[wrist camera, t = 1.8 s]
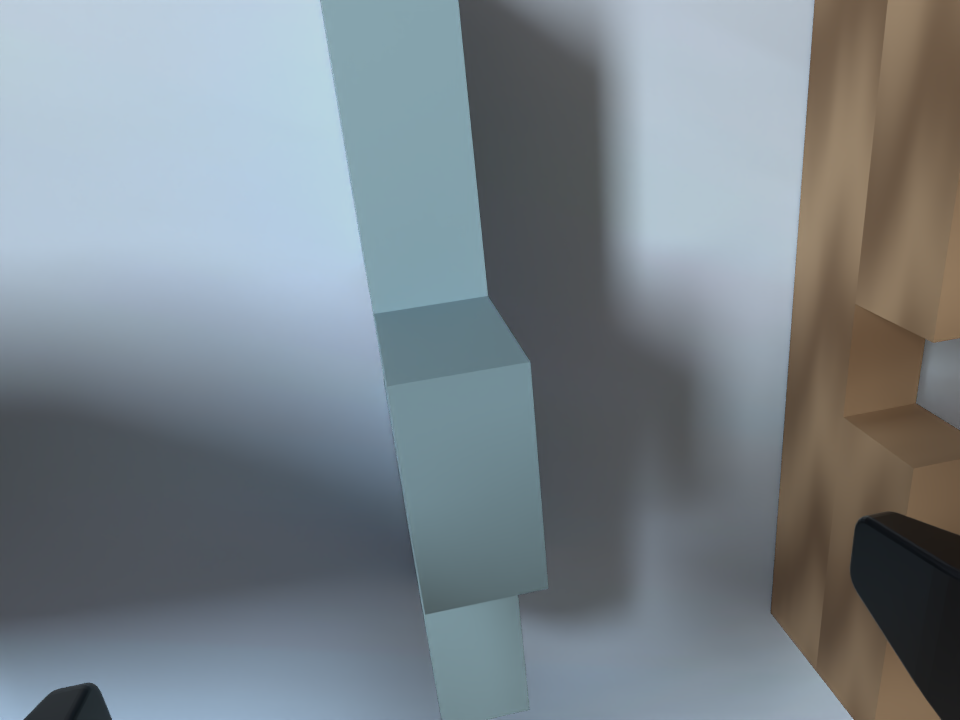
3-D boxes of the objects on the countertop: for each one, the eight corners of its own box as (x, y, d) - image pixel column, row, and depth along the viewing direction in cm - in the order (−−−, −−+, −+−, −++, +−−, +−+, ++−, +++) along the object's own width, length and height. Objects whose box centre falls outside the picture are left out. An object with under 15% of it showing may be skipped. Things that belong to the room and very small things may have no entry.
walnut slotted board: (827, 600, 25) (939, 724, 20) (770, 612, 25) (871, 742, 20) (904, -108, 17) (1119, -161, 12) (822, -100, 17) (1009, -152, 12)
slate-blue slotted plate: (486, 570, 22) (567, 834, 15) (418, 585, 22) (466, 860, 14) (411, -60, 15) (490, -148, 8) (312, -51, 15) (301, -132, 8)
